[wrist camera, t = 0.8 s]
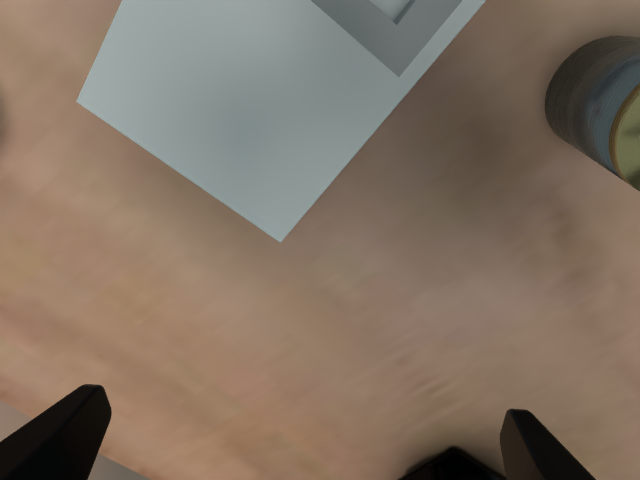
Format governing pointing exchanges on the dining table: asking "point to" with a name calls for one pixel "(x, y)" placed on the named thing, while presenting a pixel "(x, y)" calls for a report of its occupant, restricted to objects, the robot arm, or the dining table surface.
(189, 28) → the dock
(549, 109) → the lidded tin can
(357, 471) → the dining table surface
